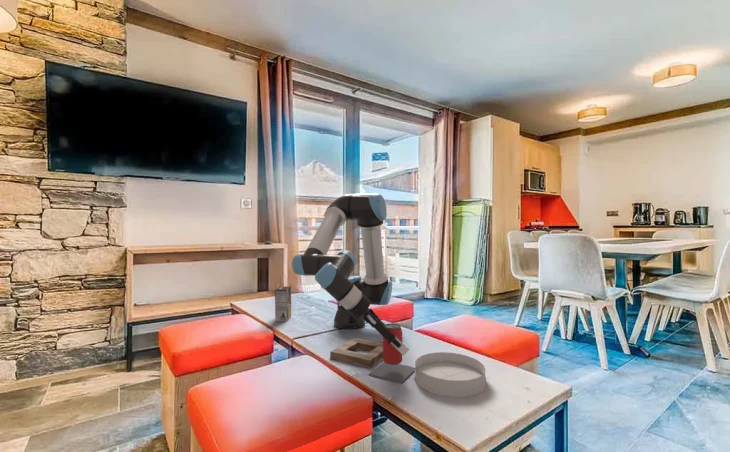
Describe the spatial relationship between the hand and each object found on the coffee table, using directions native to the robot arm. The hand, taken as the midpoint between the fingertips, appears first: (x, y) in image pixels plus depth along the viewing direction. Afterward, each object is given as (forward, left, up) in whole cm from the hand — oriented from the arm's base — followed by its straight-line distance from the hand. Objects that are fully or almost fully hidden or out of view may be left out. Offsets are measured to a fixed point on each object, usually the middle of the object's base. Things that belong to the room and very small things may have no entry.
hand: (402, 348), depth 119 cm
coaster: (+2, -3, -8) cm, 9 cm away
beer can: (+2, -3, -4) cm, 6 cm away
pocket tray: (-6, -20, -8) cm, 22 cm away
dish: (-2, +15, -9) cm, 18 cm away
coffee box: (-27, -80, -8) cm, 85 cm away
